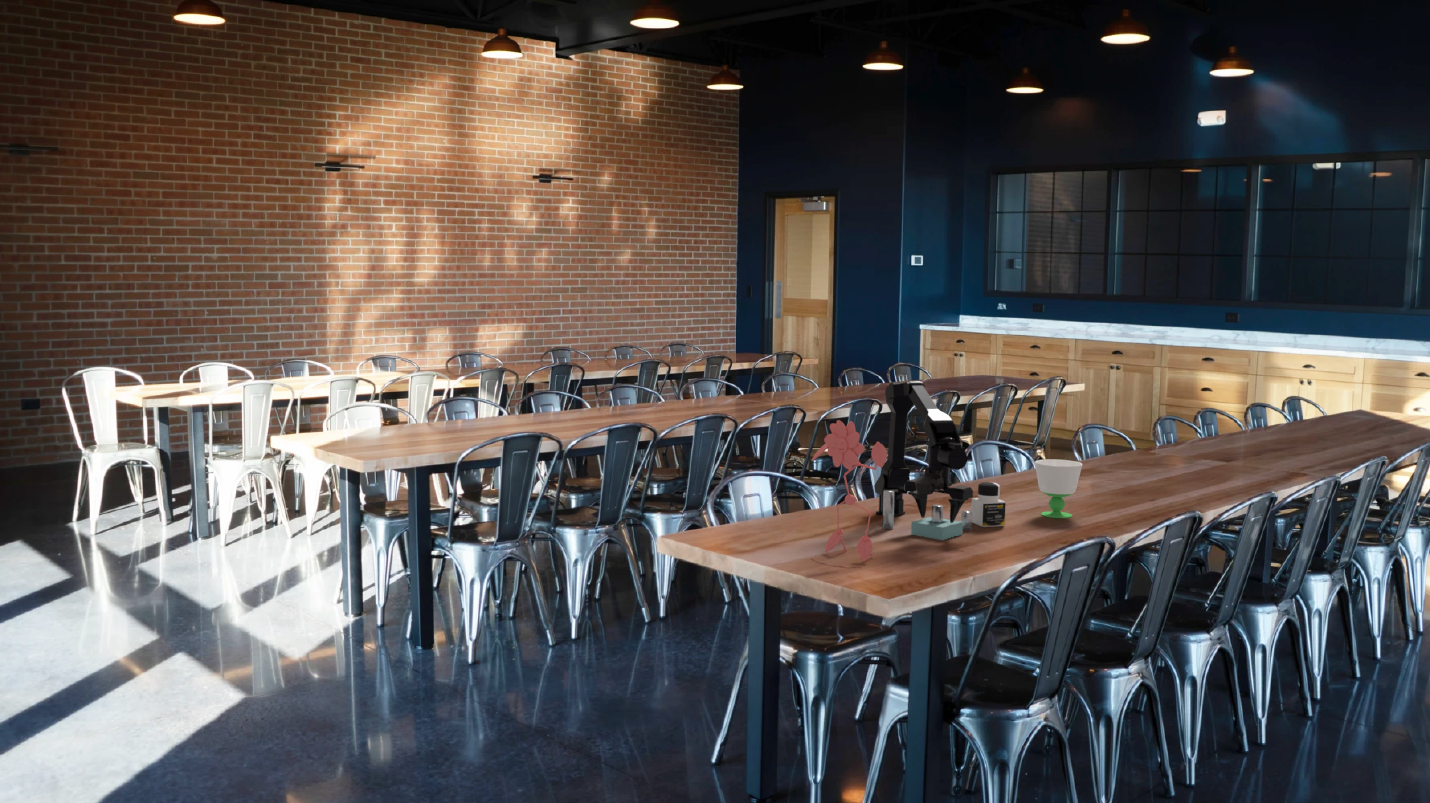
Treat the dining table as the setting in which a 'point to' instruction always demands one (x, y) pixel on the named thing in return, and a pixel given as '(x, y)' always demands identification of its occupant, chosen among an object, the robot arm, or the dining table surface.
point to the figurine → (845, 450)
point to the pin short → (966, 519)
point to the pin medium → (937, 514)
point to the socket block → (936, 528)
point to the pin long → (888, 509)
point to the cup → (1057, 483)
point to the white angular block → (988, 506)
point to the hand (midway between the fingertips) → (937, 520)
